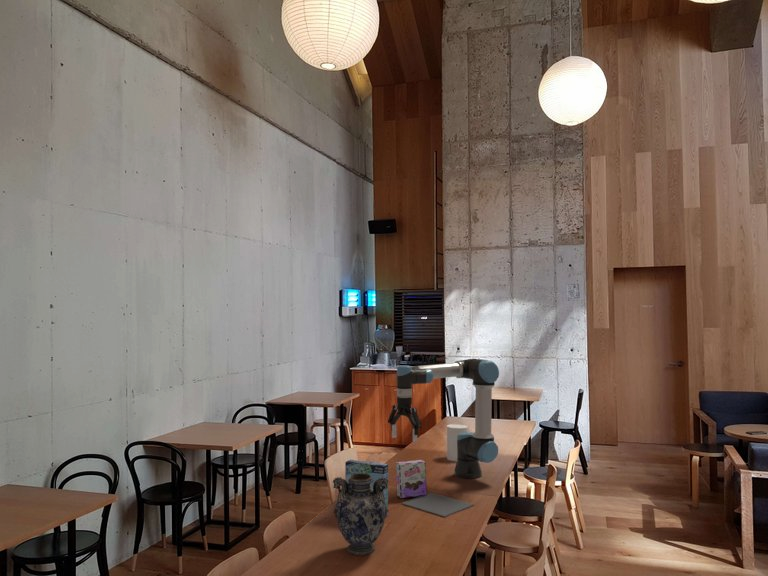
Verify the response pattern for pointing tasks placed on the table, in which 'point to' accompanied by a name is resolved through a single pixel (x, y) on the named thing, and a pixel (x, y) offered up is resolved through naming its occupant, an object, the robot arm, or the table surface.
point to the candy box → (411, 479)
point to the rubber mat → (438, 504)
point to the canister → (454, 439)
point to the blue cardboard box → (367, 468)
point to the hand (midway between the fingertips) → (404, 439)
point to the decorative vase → (360, 511)
